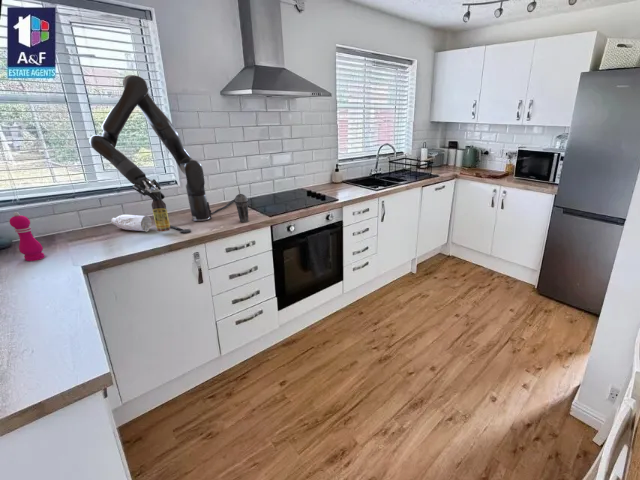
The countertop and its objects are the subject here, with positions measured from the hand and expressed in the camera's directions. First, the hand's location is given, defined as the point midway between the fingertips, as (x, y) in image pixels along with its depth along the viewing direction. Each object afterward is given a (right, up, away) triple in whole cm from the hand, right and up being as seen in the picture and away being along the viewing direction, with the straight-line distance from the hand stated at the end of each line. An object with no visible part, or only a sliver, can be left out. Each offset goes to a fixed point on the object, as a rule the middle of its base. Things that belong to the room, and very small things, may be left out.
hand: (160, 198), depth 180 cm
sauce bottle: (-3, -14, +8) cm, 16 cm away
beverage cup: (+29, -5, +33) cm, 44 cm away
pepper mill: (-38, -31, -24) cm, 55 cm away
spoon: (+1, -13, +15) cm, 20 cm away
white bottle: (-22, -14, +12) cm, 29 cm away
